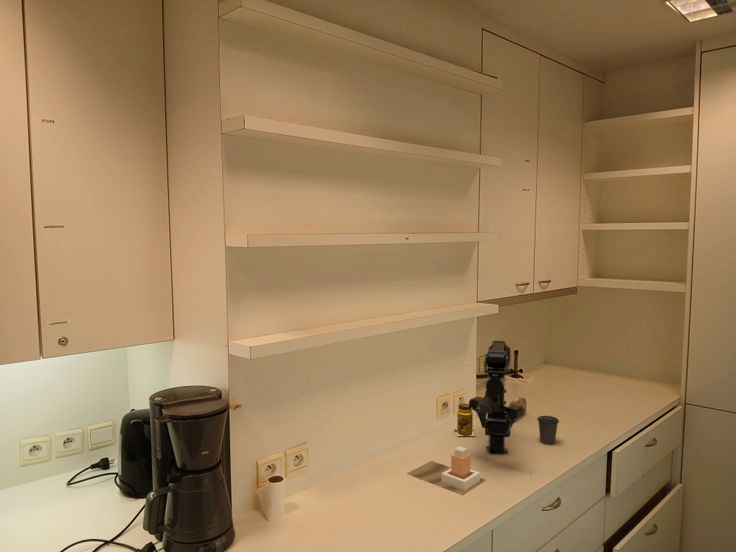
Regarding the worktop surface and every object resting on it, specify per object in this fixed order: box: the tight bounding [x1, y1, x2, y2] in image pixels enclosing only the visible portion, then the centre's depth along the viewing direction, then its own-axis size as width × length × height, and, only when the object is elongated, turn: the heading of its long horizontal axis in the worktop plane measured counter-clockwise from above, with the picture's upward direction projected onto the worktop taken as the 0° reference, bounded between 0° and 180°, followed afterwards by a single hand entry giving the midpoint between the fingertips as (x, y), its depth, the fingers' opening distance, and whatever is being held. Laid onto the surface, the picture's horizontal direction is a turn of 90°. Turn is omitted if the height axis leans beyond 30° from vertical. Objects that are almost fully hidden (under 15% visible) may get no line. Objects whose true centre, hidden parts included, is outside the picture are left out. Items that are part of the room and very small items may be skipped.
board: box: [406, 460, 487, 496], centre depth 176 cm, size 22×14×1 cm, turn 47°
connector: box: [450, 445, 471, 479], centre depth 172 cm, size 4×4×11 cm
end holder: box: [441, 468, 481, 491], centre depth 172 cm, size 9×9×3 cm
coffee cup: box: [536, 415, 560, 446], centre depth 208 cm, size 8×8×10 cm
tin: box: [508, 397, 527, 422], centre depth 236 cm, size 15×3×8 cm, turn 143°
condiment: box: [456, 403, 474, 436], centre depth 218 cm, size 7×8×12 cm
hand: (495, 431), depth 188 cm, fingers open, 9 cm apart
